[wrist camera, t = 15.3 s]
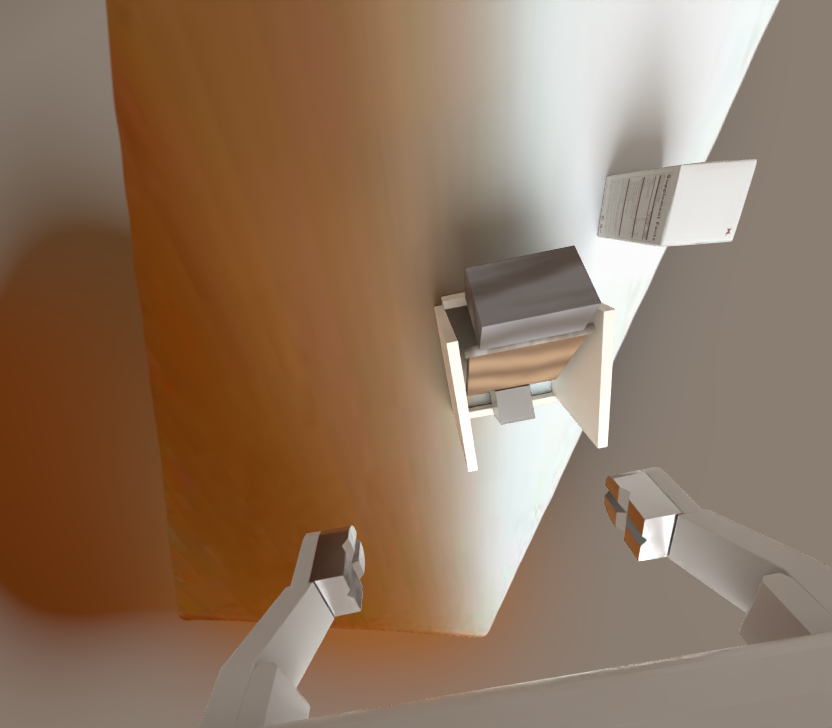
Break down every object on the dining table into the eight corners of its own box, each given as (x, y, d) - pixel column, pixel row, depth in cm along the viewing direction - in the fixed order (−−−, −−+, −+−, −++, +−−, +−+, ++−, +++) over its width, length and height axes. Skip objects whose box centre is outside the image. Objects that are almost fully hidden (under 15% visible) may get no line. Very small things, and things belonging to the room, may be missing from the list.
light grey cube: (501, 424, 49) (494, 415, 54) (535, 418, 49) (524, 409, 54) (495, 391, 49) (488, 385, 54) (529, 385, 49) (519, 379, 54)
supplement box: (663, 170, 42) (762, 157, 30) (649, 234, 45) (734, 243, 34) (604, 174, 42) (682, 162, 30) (594, 237, 45) (661, 248, 34)
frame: (432, 298, 47) (444, 332, 35) (557, 272, 47) (616, 298, 34) (453, 417, 56) (469, 478, 43) (559, 397, 55) (606, 453, 43)
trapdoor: (451, 271, 34) (466, 331, 31) (589, 242, 34) (618, 300, 31) (454, 354, 52) (464, 397, 49) (544, 337, 52) (559, 379, 49)
